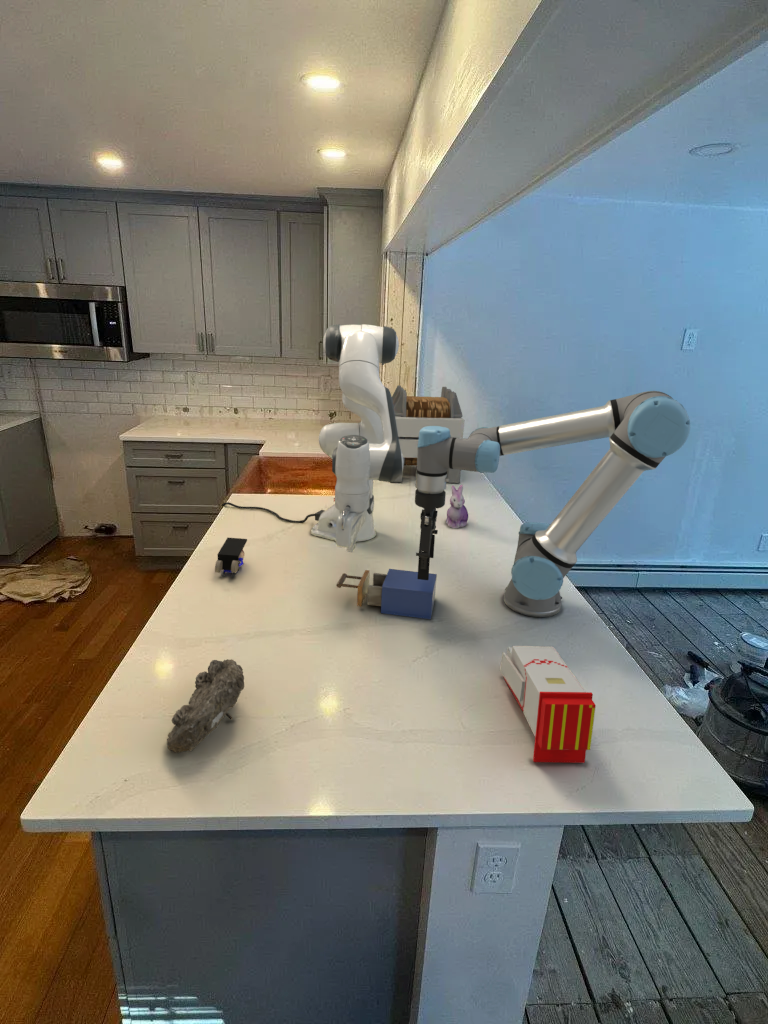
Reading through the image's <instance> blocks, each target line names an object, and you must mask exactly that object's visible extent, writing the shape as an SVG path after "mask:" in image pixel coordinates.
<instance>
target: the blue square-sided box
mask: <svg viewBox="0 0 768 1024" xmlns="http://www.w3.org/2000/svg"><path fill="white" fill-rule="evenodd" d="M386 574H387V576H386V578H385V581H384V583H383V586H382V599H381V606H380V613H381V614H385V615H393V616H399V617H400V616H401V617H409V618H416V619H417V618H418V619H424V620H431V619H432V615H433V610H434V604H435V599H436V590H437V589H436V588H437V577H438V575H437V573H431V572H429V580H420V579H418V571H413V570H404V569H395V568H388V570H387V572H386Z"/></svg>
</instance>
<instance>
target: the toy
mask: <svg viewBox="0 0 768 1024" xmlns="http://www.w3.org/2000/svg"><path fill="white" fill-rule="evenodd" d="M506 650H507V651H502V652H501V659H500V666H499V671H500V673H501V675H502V677H503V679H504V681H505V683H506V684H507V687H508V688H509V690H510V692H511V693H512V696H513V697H514V699H515V700H516V703H517V704H518V706H519V708H520V709H521V711H522V712H523V716H524V717H525V719H526V722H527V723H528V726H529V728H530V730H531V731H532V734H533V736H534V744H533V745H534V746H533V757H532V762H533V763H568V764H569V763H575V764H576V763H577V764H578V763H579V764H582V763H583V764H585V762H586V754H587V751H591V747H592V746H591V745H592V738H593V729H594V722H595V713H596V707H597V706H596V703H595V702H594V700H593V696H594V695H593V692H590V691H589V692H587V691H586V690H585V688H584V687H583V686H582V684H581V683H580V681H579V680H578V679H577V677H576V676H575V675H574V673H573V672H572V671H571V669H570V668H569V667H568V665H567V664H566V662H565V661H564V659H563V658H562V656H561V655H560V653H559V651H557V649H556V648H555V647H554V646H545V645H544V646H543V645H542V646H540V645H535V646H534V645H512V646H507V649H506Z"/></svg>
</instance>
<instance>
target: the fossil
mask: <svg viewBox="0 0 768 1024" xmlns="http://www.w3.org/2000/svg"><path fill="white" fill-rule="evenodd" d="M243 670H244V669H243V667H242V665H240V664H237V662H236V661H235V660H234V659H232V658H231V659H227V658H226V659H224V660H223V661H222V660H217V659H212V660H211V661H210V663H209V665H208V666H207V671H201V672H199V673H198V674H197V675H196V676H195V680H194V684H195V685H194V687H195V689H194V690H193V693H192V694H191V697H190V698H189V700H188V704H184V705H182V706H181V707H180V709H177V710H176V711H175V713H174V715H173V716H172V718H171V723H172V724H173V727H172V730H171V731H170V732H168V734H167V738H166V741H167V742H166V745H167V749H168V750H169V751H173V752H174V753H176V754H178V753H182V752H188V751H189V752H192V751H193V750H195V748H196V747H197V746H199V744H200V743H201V742H203V741H204V740H205V739H206V738H207V737H208V736H209V735H210V734H211V733H212V732H214V730H215V729H217V727H218V726H219V724H220V722H221V721H222V720H223V719H224V718H225V716H226V717H227V719H229V720H233V717H232V715H230V714H229V710H230V709H231V708H234V706H235V704H236V703H237V702H238V699H239V697H240V695H241V693H242V691H243V690H245V689H244V688H245V675H244V671H243Z"/></svg>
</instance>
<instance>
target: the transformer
mask: <svg viewBox="0 0 768 1024" xmlns="http://www.w3.org/2000/svg"><path fill="white" fill-rule="evenodd" d="M440 393H441V394H440V396H415V395H414V396H413V395H412V396H411V395H407V394H408V393H407V390H406V389H404V388H403V387H402V385H399V384H398V385H397V386H396V388H395V390H394V392H393V394H392V395H391V396H392V401H393V407H394V413H395V419H396V426H397V432H398V438H399V444H400V449H401V451H402V455H403V460H404V466H403V469H405V466H406V467H407V466H411V467H412V466H413V467H415V466H416V467H417V445H418V439H419V431H420V430H421V429H422V428H423V427H426V426H441V427H446V428H448V429H449V430H450V435H451V437H454V438H464V431H465V430H464V429H465V419H464V418H463V411H462V408H461V405H460V402H459V398H458V395H457V392H455V391H453V390H452V389H451V388H447V386H442V387H441V392H440ZM461 472H462V470H458V469H450V468H447V476H446V478H449V481H448V482H447V483H449V484H455V483H456V484H459V483H461ZM403 475H404V470H403V471H402V474H401V475H400V476H399V477H398V478H397V479H395V480H394V481H392V482H391V483H402V482H403Z"/></svg>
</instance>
